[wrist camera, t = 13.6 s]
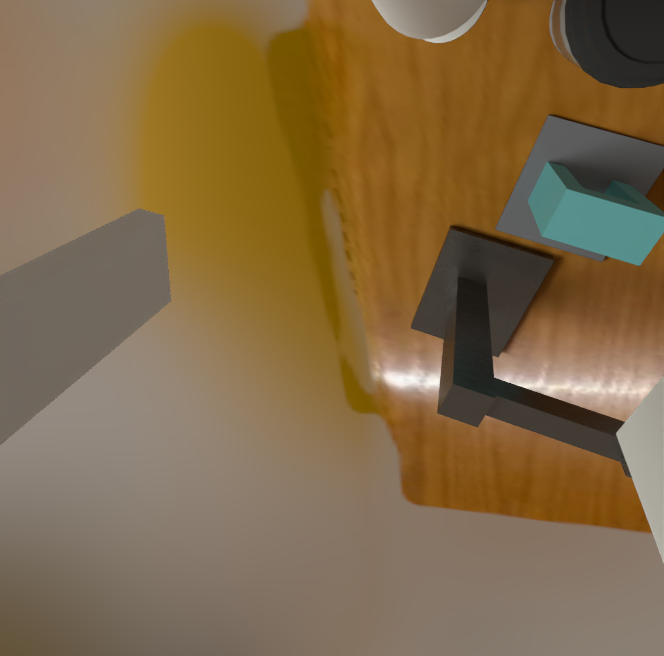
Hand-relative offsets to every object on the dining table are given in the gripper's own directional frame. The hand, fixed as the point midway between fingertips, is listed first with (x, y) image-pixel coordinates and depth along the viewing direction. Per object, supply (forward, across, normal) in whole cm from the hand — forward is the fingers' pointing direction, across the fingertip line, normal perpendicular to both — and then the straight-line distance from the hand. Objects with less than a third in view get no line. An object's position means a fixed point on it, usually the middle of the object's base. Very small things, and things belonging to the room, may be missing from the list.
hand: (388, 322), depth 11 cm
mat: (+32, +12, -3) cm, 35 cm away
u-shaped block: (+32, +12, -3) cm, 34 cm away
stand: (+32, +11, -15) cm, 37 cm away
